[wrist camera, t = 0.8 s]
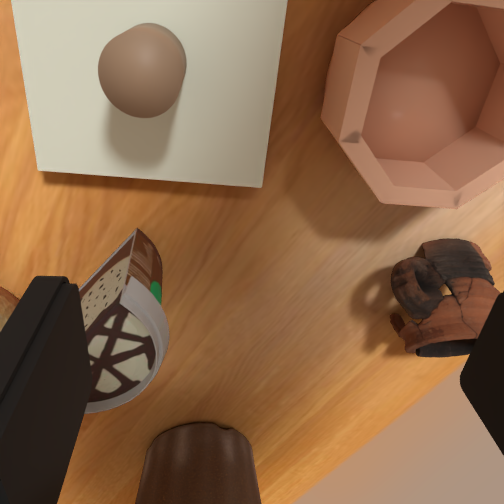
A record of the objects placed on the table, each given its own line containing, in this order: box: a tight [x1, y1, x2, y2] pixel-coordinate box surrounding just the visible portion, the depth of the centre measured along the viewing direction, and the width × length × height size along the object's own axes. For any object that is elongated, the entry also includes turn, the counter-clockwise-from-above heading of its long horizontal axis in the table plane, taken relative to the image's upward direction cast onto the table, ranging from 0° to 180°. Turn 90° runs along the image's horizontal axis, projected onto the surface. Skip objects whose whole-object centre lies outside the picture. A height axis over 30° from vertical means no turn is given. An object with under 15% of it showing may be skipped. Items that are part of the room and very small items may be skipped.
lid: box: [11, 0, 288, 188], centre depth 24 cm, size 15×15×6 cm
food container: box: [79, 228, 169, 414], centre depth 32 cm, size 12×6×10 cm, turn 135°
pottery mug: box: [390, 239, 500, 357], centre depth 36 cm, size 12×10×8 cm
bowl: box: [321, 0, 504, 209], centre depth 26 cm, size 12×12×6 cm
